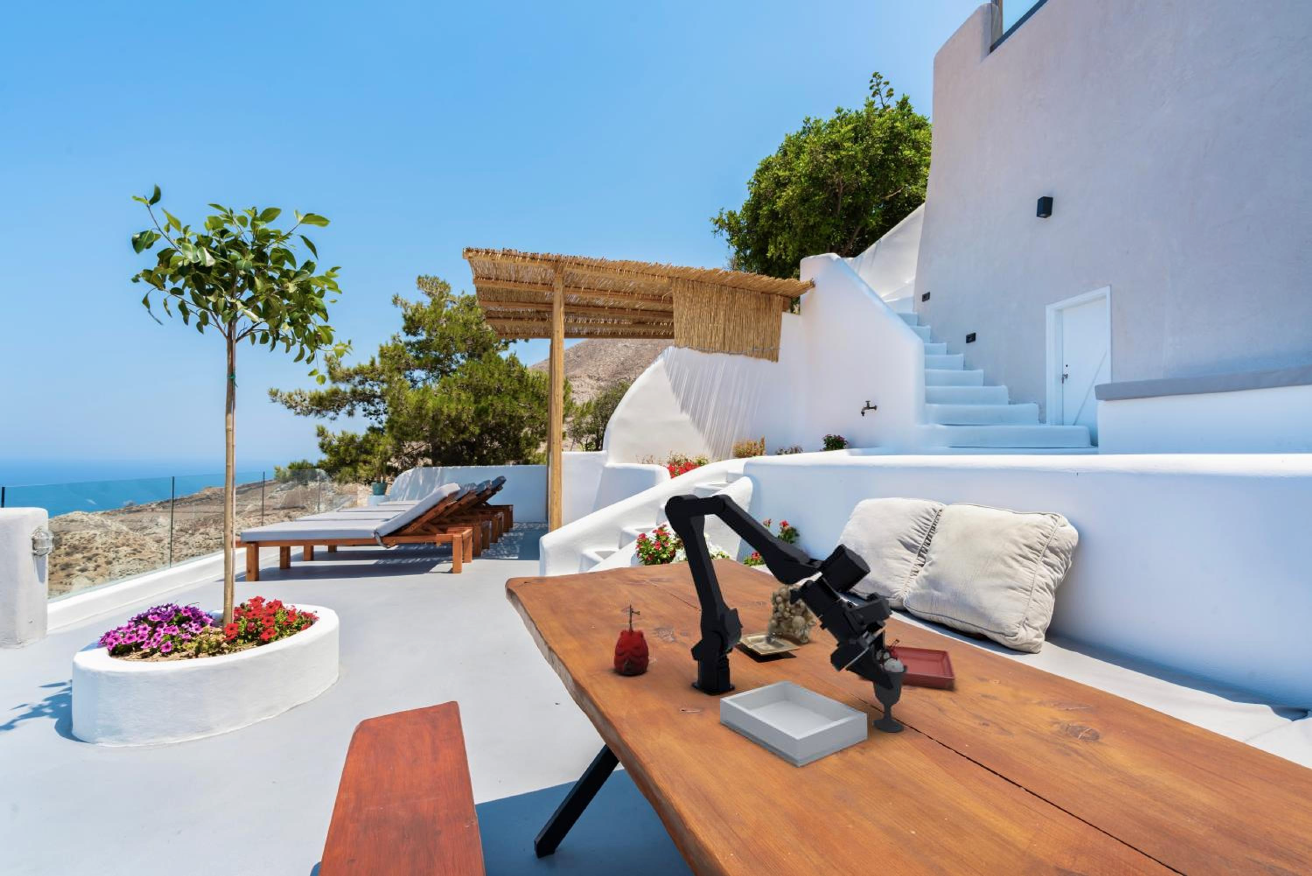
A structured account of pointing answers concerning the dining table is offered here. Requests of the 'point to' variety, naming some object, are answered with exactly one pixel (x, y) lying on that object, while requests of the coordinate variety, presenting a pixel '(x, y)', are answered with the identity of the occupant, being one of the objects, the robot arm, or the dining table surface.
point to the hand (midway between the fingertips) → (896, 682)
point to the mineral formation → (790, 615)
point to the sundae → (889, 697)
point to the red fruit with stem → (631, 651)
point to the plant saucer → (926, 666)
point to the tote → (793, 721)
